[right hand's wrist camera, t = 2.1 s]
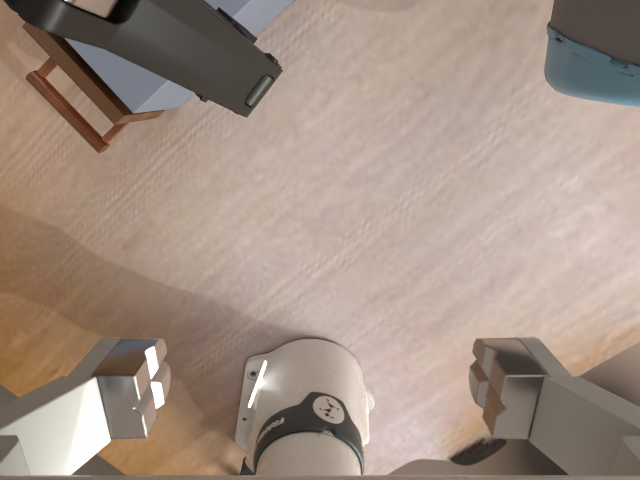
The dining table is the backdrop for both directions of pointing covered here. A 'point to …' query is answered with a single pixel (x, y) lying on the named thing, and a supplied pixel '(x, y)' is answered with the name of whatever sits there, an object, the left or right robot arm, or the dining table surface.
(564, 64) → the left robot arm
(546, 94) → the dining table surface
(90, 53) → the cabinet
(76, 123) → the drawer
